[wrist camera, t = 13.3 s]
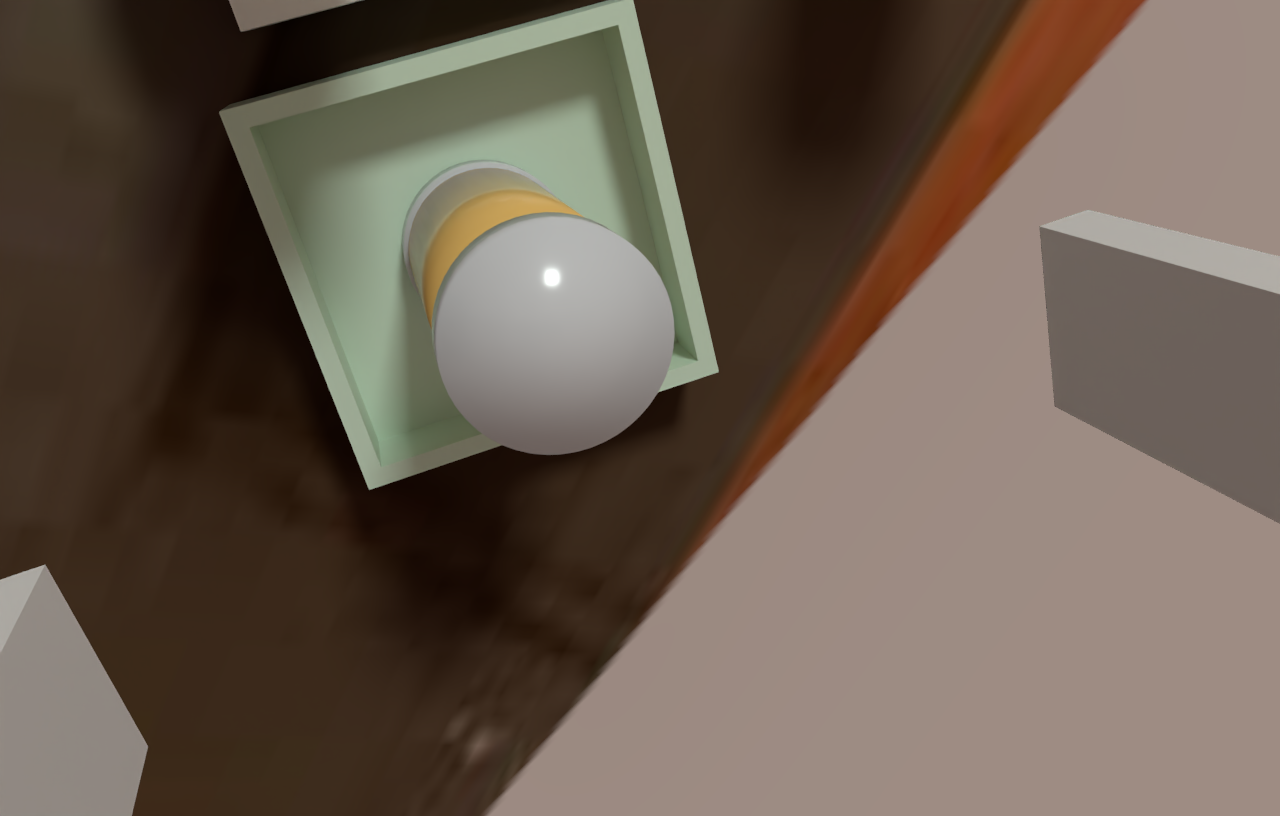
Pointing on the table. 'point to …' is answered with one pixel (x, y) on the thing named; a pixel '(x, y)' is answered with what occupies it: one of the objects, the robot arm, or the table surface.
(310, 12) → the fuse panel
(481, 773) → the table surface
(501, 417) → the fuse amber
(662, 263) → the tray
